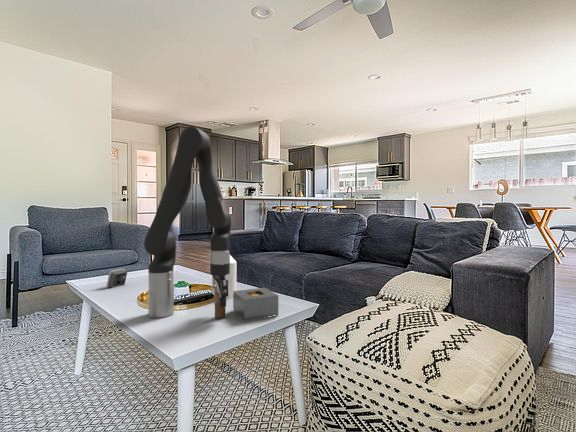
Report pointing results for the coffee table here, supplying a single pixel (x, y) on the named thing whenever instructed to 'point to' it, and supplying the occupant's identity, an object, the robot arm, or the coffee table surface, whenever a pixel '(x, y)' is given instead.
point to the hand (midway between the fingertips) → (220, 303)
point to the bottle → (230, 278)
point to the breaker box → (255, 303)
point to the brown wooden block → (218, 306)
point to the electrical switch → (116, 278)
